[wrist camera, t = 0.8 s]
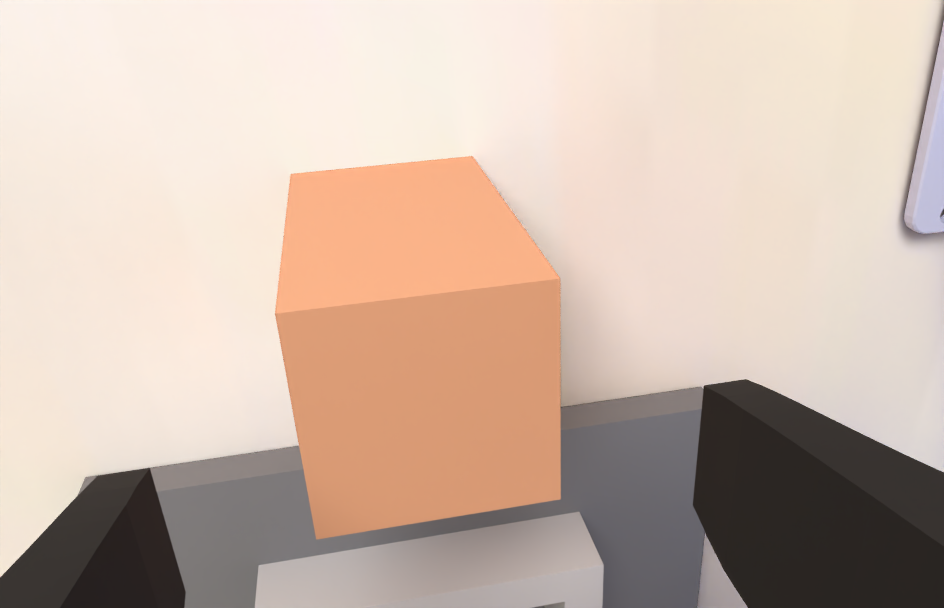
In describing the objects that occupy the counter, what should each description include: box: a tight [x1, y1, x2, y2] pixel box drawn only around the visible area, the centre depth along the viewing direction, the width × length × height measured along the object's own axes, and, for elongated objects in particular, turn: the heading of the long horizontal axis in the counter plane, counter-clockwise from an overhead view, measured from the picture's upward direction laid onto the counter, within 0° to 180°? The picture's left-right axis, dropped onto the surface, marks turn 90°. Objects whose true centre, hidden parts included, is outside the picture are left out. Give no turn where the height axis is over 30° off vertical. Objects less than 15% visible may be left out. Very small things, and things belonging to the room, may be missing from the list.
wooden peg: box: [275, 156, 561, 540], centre depth 15 cm, size 4×4×7 cm
